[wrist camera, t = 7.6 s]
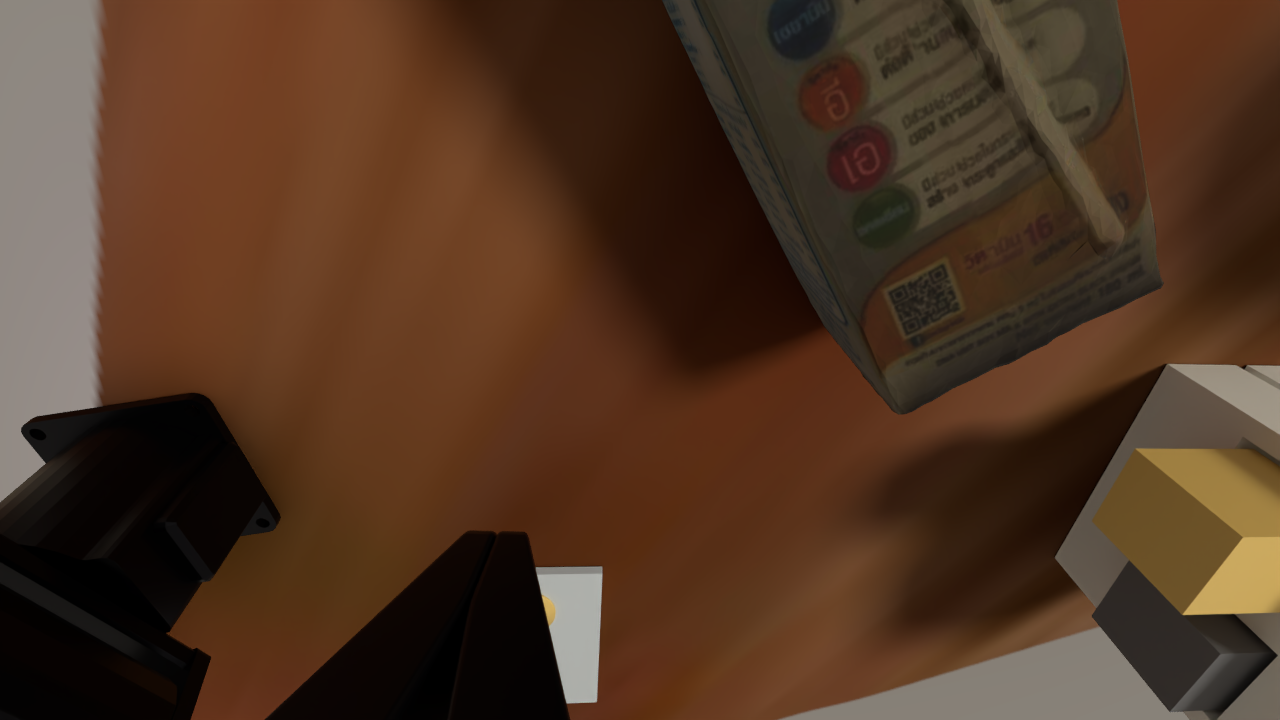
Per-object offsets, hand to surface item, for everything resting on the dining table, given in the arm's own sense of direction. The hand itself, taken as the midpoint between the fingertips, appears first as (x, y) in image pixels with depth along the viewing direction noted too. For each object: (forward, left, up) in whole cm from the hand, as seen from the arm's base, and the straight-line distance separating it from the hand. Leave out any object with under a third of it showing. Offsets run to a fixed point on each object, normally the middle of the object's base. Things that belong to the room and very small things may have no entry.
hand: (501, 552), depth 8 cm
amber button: (+20, -11, -9) cm, 25 cm away
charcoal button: (+22, -17, -9) cm, 29 cm away
